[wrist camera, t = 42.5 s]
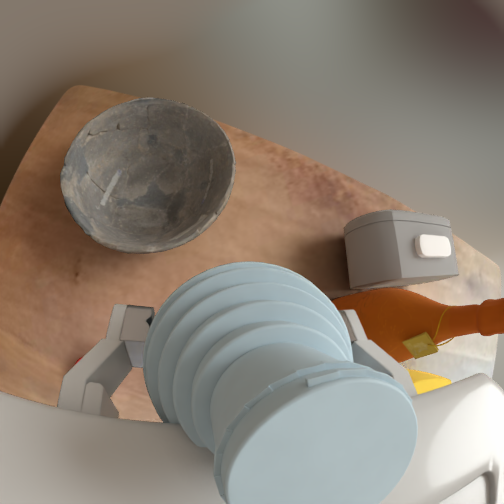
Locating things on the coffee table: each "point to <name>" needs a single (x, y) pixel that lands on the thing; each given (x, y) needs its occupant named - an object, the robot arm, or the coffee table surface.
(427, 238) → the alarm clock
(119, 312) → the robot arm
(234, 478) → the bottle
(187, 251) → the coffee table surface
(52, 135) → the coffee table surface
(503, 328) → the wine bottle
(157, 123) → the bowl
